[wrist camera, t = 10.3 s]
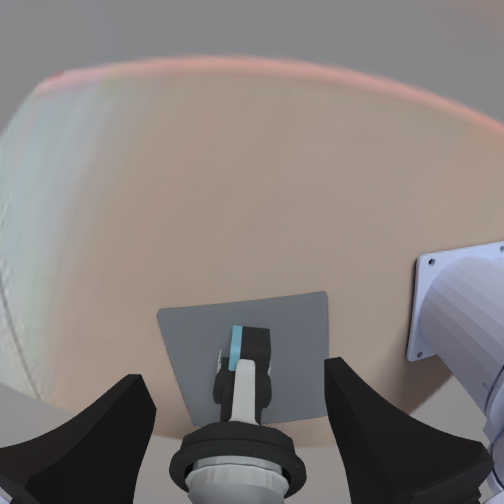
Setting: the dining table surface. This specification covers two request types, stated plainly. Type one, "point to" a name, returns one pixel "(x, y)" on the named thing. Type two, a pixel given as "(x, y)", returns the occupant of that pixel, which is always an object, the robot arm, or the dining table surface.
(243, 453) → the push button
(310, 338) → the rubber pad
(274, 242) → the dining table surface
